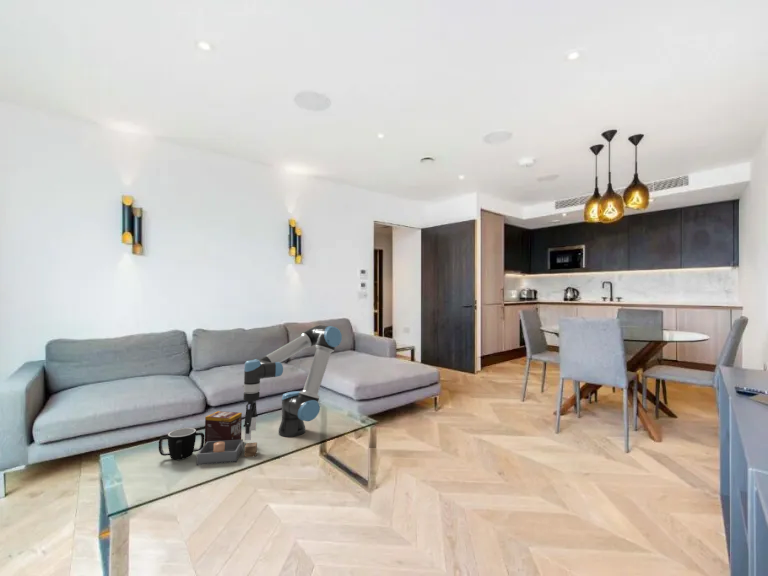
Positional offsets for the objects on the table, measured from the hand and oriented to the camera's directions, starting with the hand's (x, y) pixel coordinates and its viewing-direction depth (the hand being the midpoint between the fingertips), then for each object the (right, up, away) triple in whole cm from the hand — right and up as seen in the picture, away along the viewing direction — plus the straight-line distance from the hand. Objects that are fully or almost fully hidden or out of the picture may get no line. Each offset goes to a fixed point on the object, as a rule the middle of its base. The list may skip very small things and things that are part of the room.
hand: (250, 435), depth 180 cm
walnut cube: (0, -10, 0) cm, 10 cm away
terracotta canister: (-13, -9, -6) cm, 17 cm away
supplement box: (-19, -11, +14) cm, 26 cm away
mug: (-33, -10, -3) cm, 34 cm away
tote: (-13, -10, -3) cm, 17 cm away
